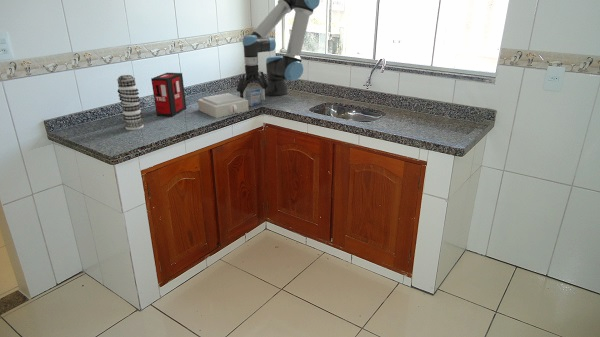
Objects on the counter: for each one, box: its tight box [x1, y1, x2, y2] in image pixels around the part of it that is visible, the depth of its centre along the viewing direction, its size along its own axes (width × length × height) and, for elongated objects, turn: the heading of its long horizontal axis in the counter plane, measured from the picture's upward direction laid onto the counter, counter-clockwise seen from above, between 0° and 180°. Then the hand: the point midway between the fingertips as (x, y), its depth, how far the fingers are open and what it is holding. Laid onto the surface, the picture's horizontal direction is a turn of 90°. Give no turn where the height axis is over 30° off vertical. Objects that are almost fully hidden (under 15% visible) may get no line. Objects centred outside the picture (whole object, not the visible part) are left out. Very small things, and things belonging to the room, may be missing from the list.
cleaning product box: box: [151, 72, 187, 118], centre depth 217 cm, size 16×9×20 cm, turn 168°
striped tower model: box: [116, 74, 144, 131], centre depth 192 cm, size 9×9×25 cm
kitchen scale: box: [197, 92, 250, 119], centre depth 221 cm, size 20×21×7 cm
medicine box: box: [245, 88, 262, 107], centre depth 233 cm, size 8×4×9 cm, turn 143°
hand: (253, 101), depth 234 cm, fingers open, 13 cm apart
